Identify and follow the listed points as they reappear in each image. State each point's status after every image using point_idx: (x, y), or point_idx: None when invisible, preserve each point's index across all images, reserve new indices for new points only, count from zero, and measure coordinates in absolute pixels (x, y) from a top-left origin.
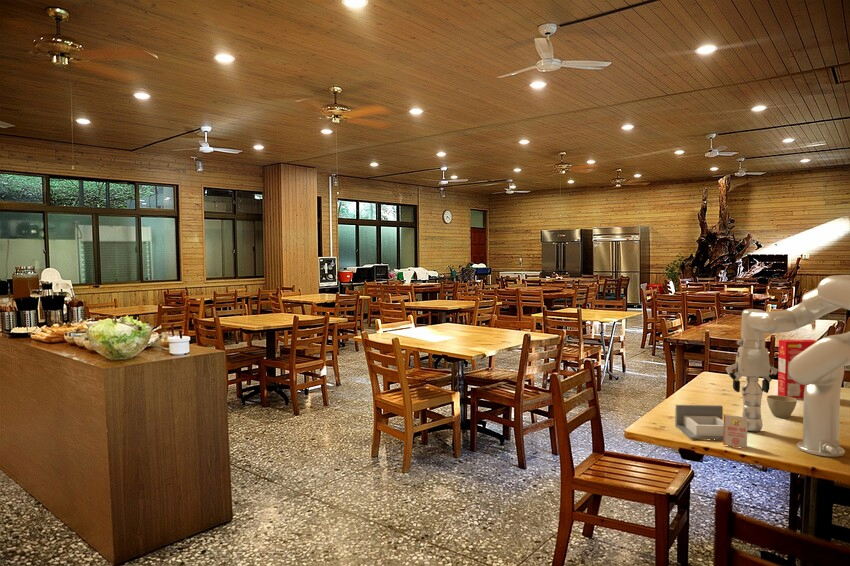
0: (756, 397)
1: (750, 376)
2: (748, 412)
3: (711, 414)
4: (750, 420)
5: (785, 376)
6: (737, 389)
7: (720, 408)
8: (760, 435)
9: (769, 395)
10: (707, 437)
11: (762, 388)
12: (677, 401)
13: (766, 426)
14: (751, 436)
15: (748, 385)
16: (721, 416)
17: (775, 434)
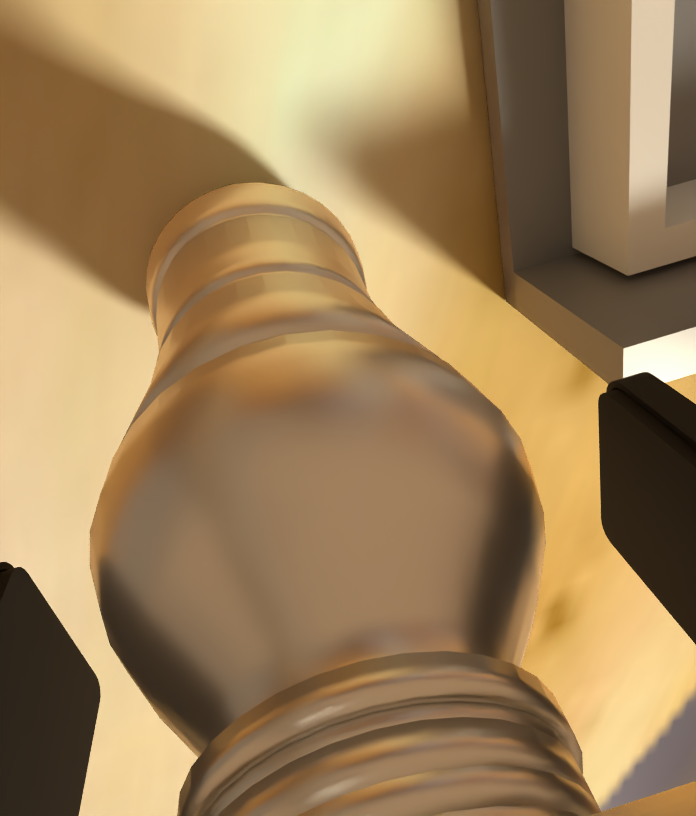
0: (245, 325)
1: (647, 809)
2: (330, 257)
3: (683, 275)
4: (292, 210)
5: None
6: (676, 408)
7: (633, 329)
8: (183, 113)
9: None
10: None
11: (84, 716)
12: (591, 776)
13: (102, 464)
14: (284, 33)
15: (482, 528)
16: (568, 299)
17: (23, 211)
